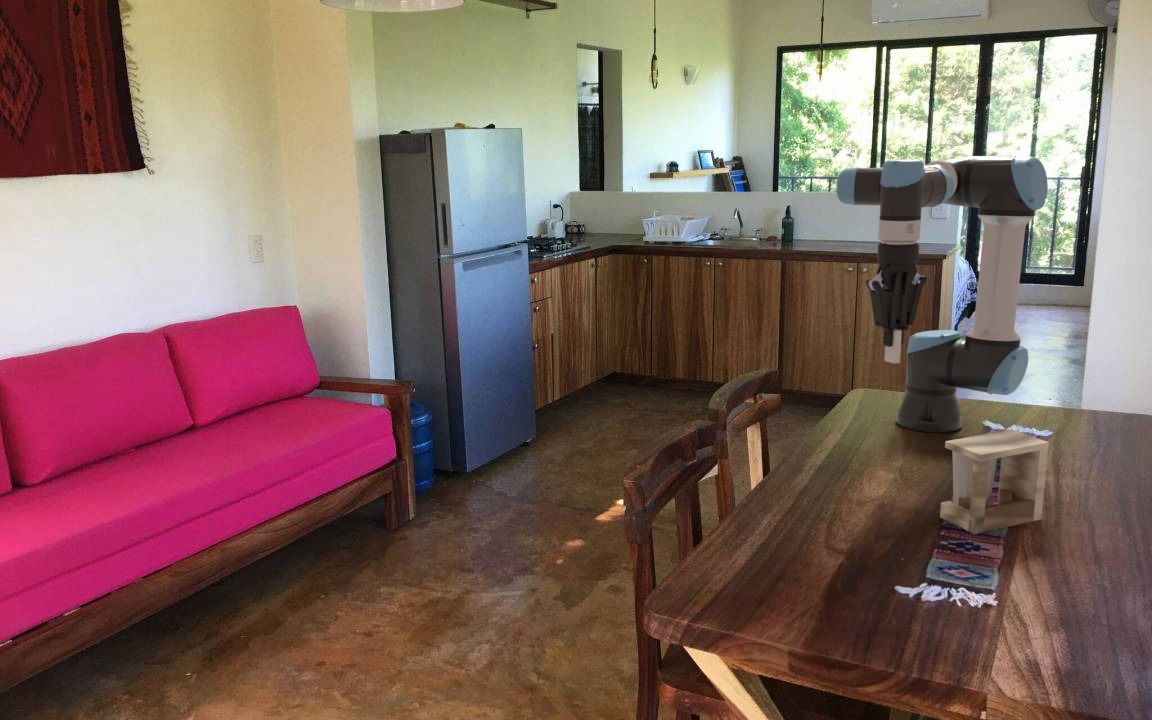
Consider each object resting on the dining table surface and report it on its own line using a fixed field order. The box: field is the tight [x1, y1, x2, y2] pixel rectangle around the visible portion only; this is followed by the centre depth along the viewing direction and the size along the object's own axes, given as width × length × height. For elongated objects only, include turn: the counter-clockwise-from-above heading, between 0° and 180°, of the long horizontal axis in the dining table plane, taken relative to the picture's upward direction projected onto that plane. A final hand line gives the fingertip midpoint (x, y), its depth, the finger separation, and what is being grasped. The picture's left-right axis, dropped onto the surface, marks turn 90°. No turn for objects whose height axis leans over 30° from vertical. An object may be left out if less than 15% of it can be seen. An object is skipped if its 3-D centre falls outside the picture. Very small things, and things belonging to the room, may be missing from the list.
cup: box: [951, 450, 998, 504], centre depth 177 cm, size 8×8×12 cm
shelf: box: [939, 429, 1050, 535], centre depth 172 cm, size 8×16×15 cm, turn 112°
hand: (892, 361), depth 184 cm, fingers closed
